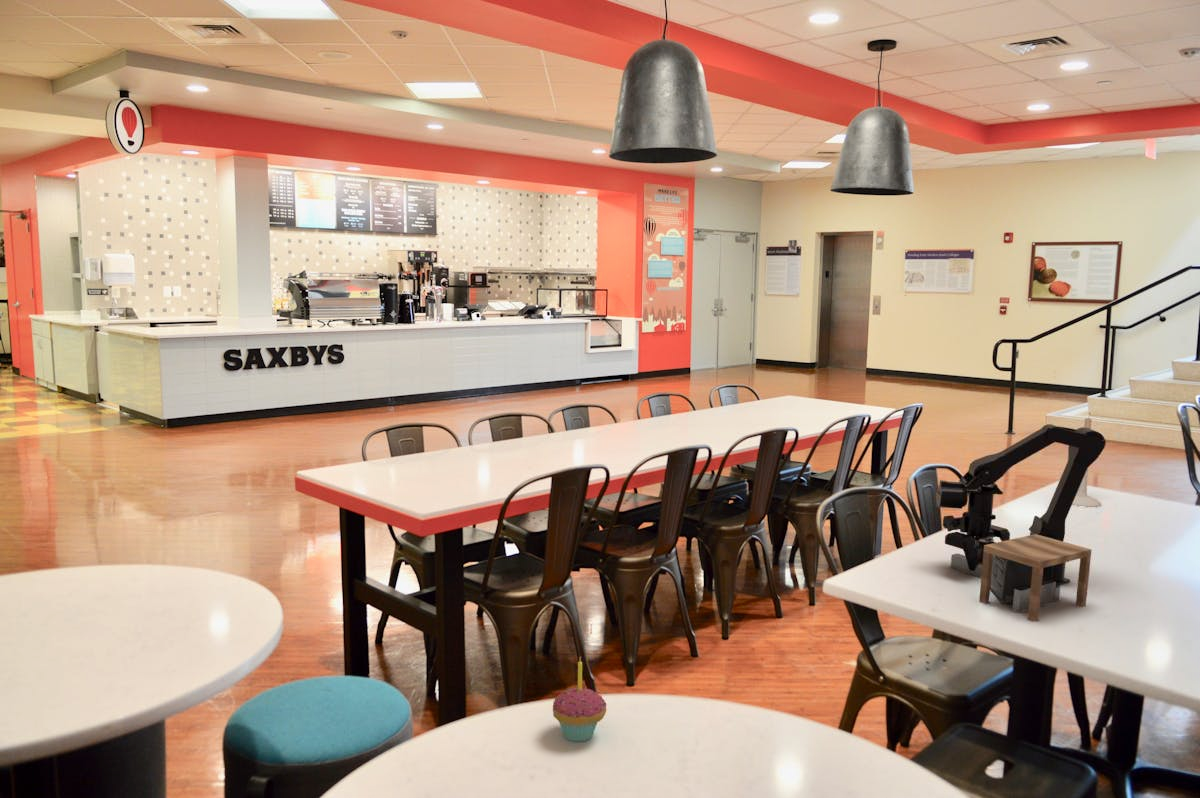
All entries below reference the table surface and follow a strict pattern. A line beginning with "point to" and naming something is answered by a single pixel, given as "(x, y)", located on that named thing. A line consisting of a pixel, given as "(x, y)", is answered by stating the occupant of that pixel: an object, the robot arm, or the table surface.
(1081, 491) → the candlestick
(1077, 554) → the small wooden table
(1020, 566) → the small box
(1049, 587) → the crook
